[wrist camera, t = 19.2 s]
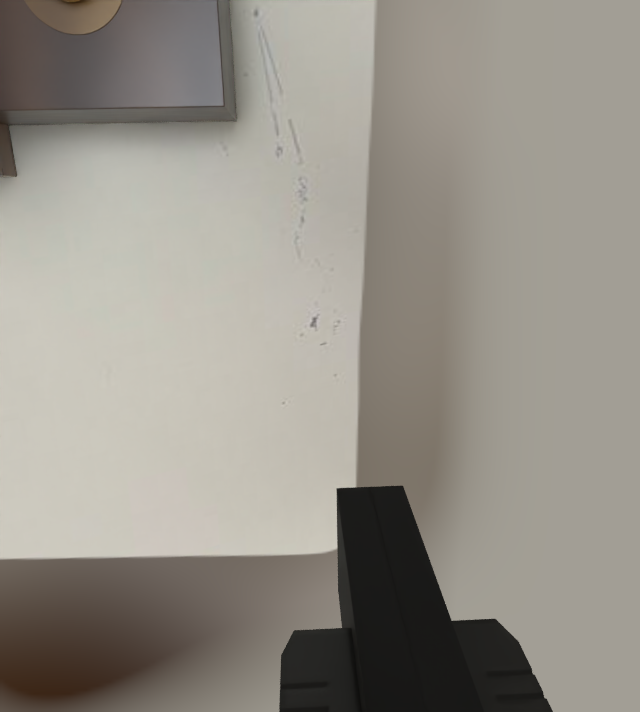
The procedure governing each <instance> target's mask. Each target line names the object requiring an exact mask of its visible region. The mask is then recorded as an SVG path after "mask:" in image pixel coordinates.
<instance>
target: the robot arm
mask: <svg viewBox="0 0 640 712" xmlns="http://www.w3.org/2000/svg"><path fill="white" fill-rule="evenodd" d="M337 540H338V592H339V601H340V610H341V621H342V628H336V629H316V630H295V631H294V632H293V634H292V636H291V638H290V639H289V642H288V643H287V645H286V648H285V649H284V651H283V653H282V655H281V679H280V680H281V681H280V685H281V686H280V712H553V711H552V709H551V707H550V705H549V703H548V701H547V699H545V698H544V695H543V691H542V689H541V687H540V685H539V683H538V681H537V679H536V677H535V675H533V673H532V668H531V666H530V664H529V662H528V660H527V658H526V656H525V654H524V652H523V650H522V648H521V646H520V644H519V642H518V641H517V640H516V639H515V638H514V637H513V636H512V635H511V634H510V633H509V632H508V631H507V630H506V629H505V628H504V627H503V626H502V625H501V624H500V623H499V622H498V621H497V620H496V619H481V620H461V621H451V618H450V615H449V613H448V610H447V607H446V604H445V601H444V599H443V596H442V593H441V590H440V588H439V585H438V582H437V579H436V576H435V574H434V571H433V568H432V565H431V563H430V560H429V557H428V554H427V552H426V549H425V546H424V543H423V540H422V538H421V535H420V532H419V529H418V526H417V524H416V521H415V518H414V515H413V513H412V510H411V507H410V504H409V502H408V499H407V496H406V493H405V490H404V488H403V486H385V487H384V486H383V487H358V488H337Z"/></svg>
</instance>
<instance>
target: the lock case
mask: <svg viewBox="0 0 640 712" xmlns="http://www.w3.org/2000/svg"><path fill="white" fill-rule="evenodd" d="M236 120H237V115H236V98H235V82H234V65H233V49H232V32H231V16H230V0H79V1H76V2H65V1H62V0H0V177H16V176H17V174H16V168H15V162H14V156H13V150H12V145H11V139H10V133H9V127H8V125H43V124H95V123H148V122H201V121H236Z"/></svg>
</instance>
